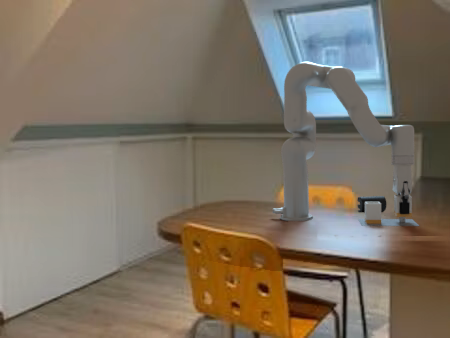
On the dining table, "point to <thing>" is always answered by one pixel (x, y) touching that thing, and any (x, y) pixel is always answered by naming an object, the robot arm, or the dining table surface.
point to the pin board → (391, 222)
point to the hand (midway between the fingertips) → (402, 211)
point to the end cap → (371, 199)
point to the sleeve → (396, 206)
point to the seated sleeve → (373, 212)
